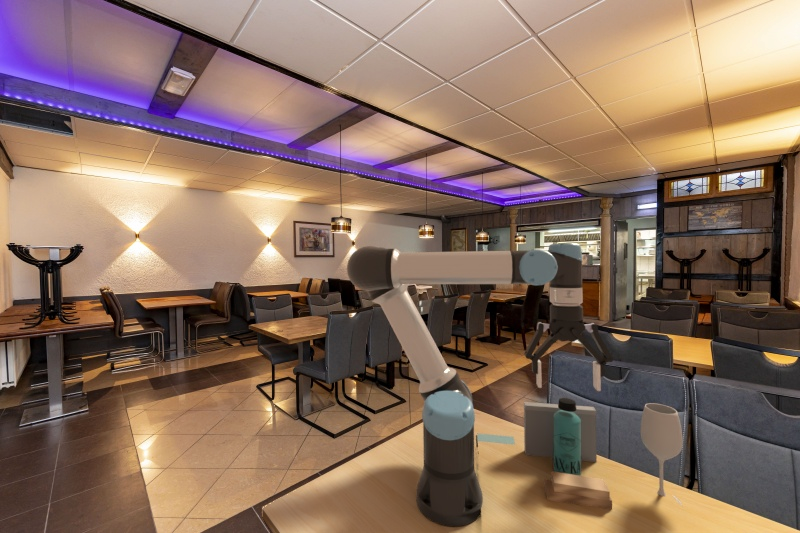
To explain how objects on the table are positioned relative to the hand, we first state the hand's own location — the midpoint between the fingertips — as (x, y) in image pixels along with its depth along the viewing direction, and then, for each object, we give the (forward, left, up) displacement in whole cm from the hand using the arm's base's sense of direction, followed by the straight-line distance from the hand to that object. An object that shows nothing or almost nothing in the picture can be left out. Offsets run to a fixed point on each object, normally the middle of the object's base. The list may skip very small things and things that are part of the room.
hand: (567, 387), depth 83 cm
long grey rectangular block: (0, +7, -23) cm, 24 cm away
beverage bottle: (0, 0, -23) cm, 23 cm away
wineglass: (+19, -4, -23) cm, 30 cm away
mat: (-17, +12, -23) cm, 31 cm away
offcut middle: (-1, -9, -22) cm, 24 cm away
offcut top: (0, -9, -20) cm, 22 cm away
